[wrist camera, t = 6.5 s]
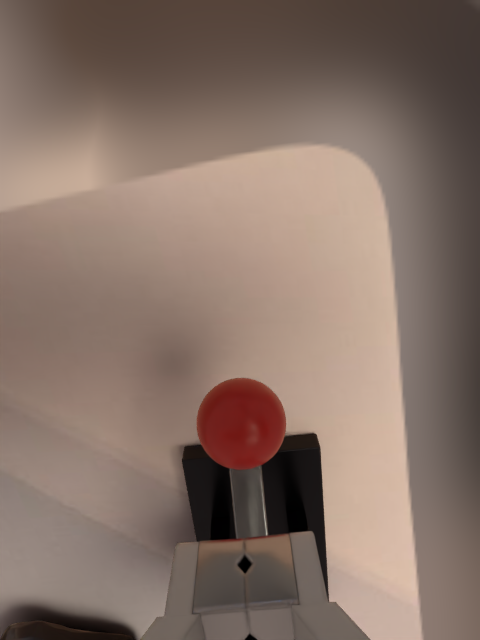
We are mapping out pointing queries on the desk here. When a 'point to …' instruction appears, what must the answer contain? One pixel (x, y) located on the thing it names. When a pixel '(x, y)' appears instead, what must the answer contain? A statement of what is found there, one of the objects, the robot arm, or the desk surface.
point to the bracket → (279, 490)
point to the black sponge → (55, 632)
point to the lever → (243, 444)
